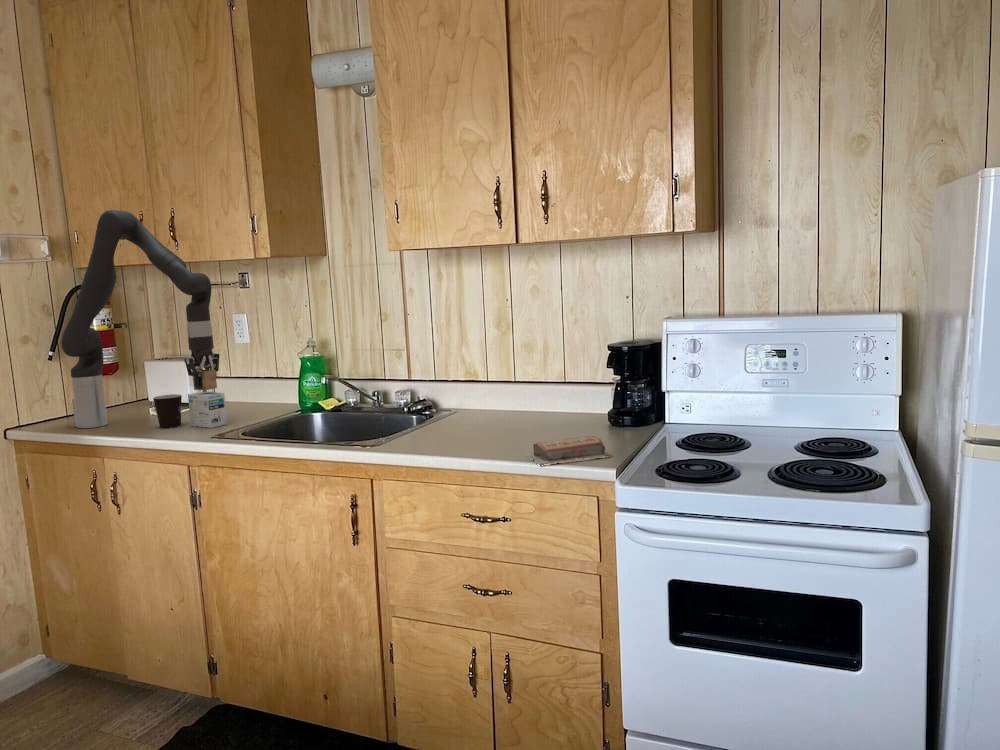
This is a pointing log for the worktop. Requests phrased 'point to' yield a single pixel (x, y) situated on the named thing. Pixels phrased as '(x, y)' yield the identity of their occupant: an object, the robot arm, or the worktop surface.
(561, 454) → the packaged product
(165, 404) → the coffee mug
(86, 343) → the robot arm
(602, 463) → the worktop surface
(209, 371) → the walnut block
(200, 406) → the light bulb box
